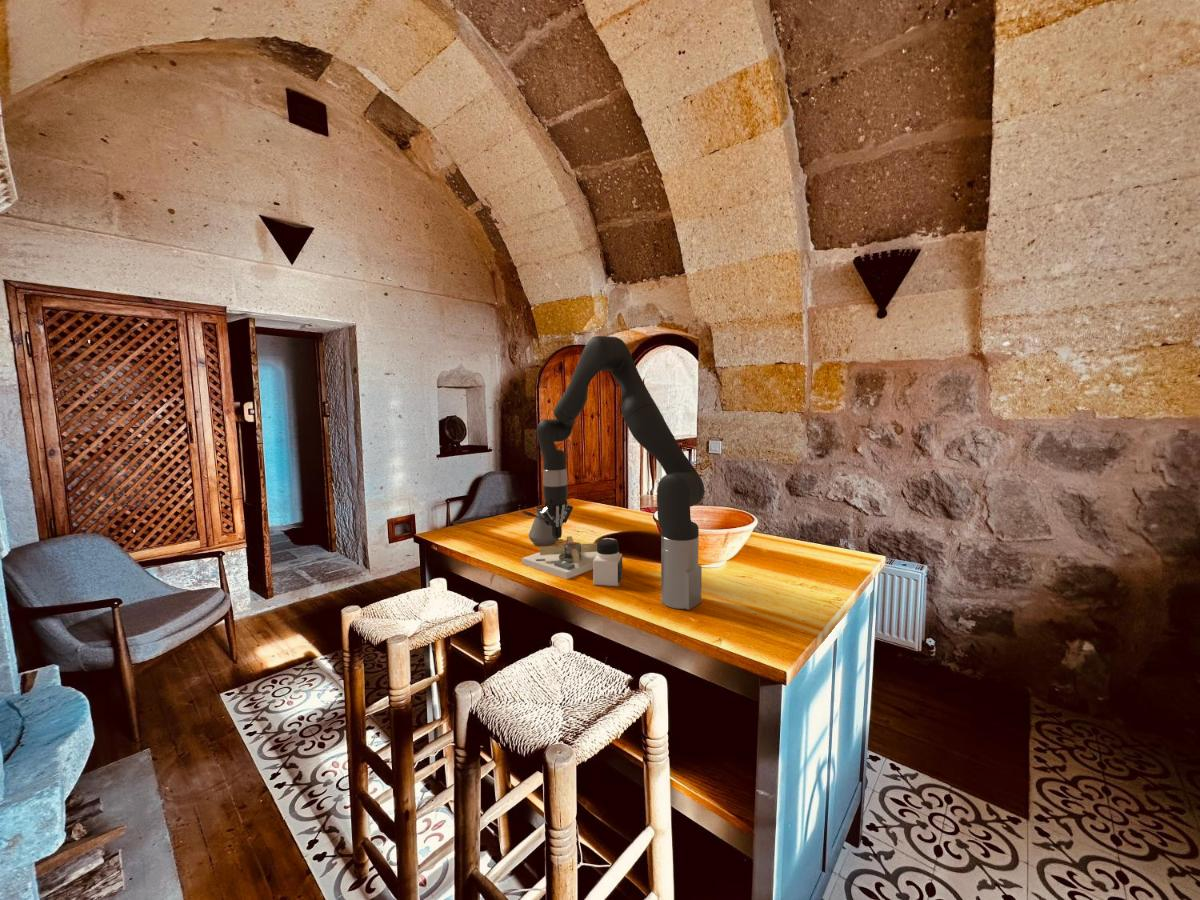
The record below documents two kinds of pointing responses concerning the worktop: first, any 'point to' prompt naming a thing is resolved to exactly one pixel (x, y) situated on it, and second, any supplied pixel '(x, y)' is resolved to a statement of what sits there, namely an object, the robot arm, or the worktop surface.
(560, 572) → the board
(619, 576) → the medicine bottle
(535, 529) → the coffee pot
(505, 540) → the worktop surface
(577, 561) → the cam capstan
